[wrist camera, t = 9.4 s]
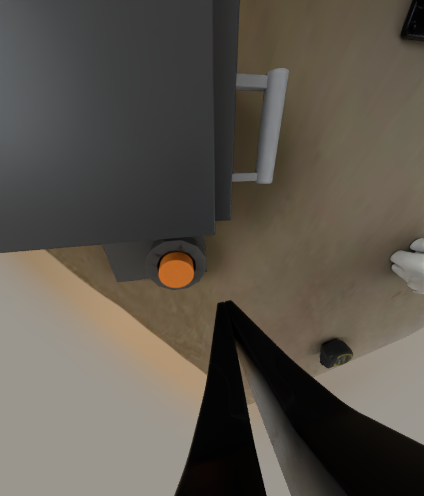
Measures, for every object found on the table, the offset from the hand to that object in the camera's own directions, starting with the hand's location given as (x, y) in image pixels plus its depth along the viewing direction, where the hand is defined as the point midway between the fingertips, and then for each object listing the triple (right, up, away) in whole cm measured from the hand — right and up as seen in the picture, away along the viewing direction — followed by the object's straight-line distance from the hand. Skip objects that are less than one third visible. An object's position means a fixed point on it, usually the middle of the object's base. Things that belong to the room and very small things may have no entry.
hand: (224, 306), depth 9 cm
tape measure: (+29, -22, +32) cm, 48 cm away
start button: (-5, +2, +8) cm, 10 cm away
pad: (-7, +4, +10) cm, 13 cm away
